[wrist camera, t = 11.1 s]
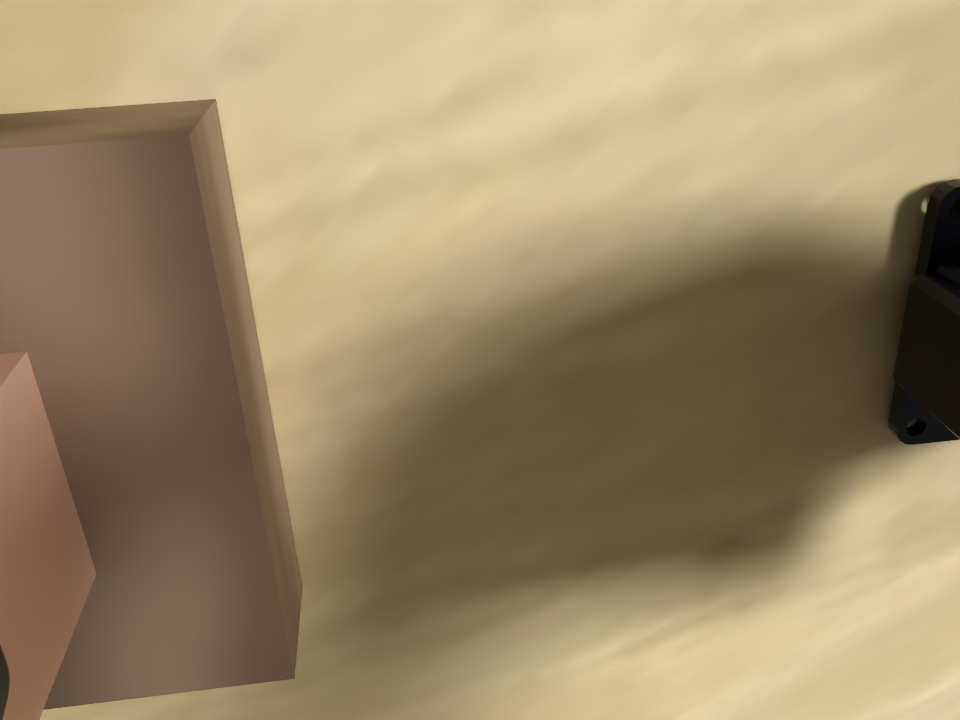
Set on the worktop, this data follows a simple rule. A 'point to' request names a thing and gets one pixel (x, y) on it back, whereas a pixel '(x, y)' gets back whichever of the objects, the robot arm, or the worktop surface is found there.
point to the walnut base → (150, 396)
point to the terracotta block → (35, 545)
